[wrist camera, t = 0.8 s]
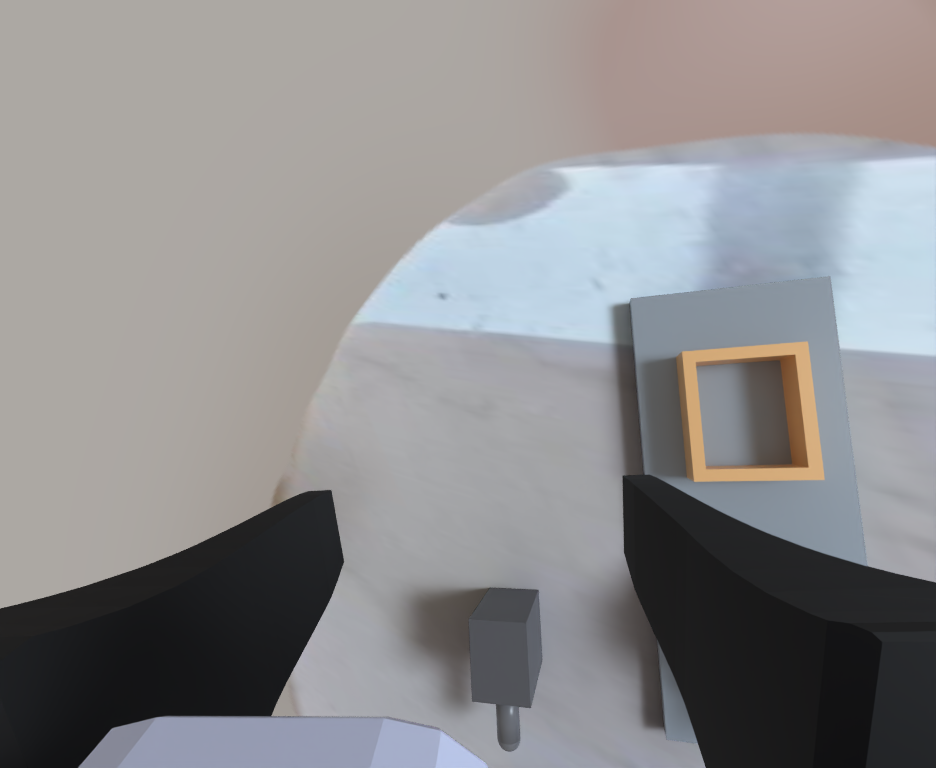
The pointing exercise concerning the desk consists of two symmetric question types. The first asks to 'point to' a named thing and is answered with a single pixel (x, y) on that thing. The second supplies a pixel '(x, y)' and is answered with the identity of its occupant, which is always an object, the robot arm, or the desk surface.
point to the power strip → (749, 418)
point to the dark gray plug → (506, 656)
